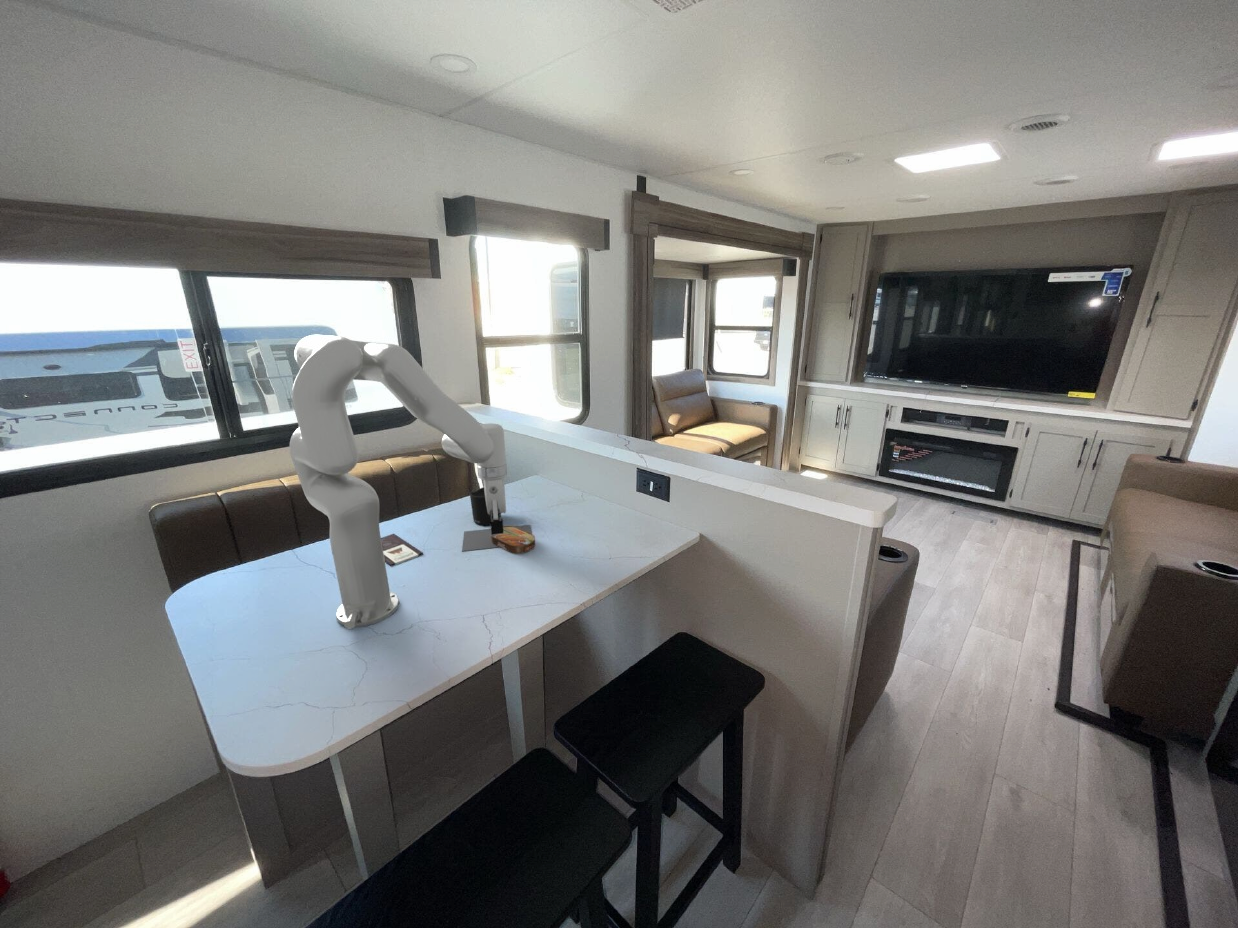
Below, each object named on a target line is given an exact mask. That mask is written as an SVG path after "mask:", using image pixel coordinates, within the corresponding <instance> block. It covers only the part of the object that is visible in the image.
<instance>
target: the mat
mask: <svg viewBox="0 0 1238 928" xmlns="http://www.w3.org/2000/svg"><path fill="white" fill-rule="evenodd" d="M513 526H514V527H517V528H519V529H521V530H523V531H526V532H528V533H530V534H533V532H532V526H531V524H525V525H524V524H523V525H513ZM490 533H491V528H485V529H475V530H465V531H463V537H462V538H463V539H462V549H461V552H469V551H471V552H472V551H477V550H478V551H479V550H488V549H489V550H490V549H499V548H500V547H499V546H497V545H495V544H493V543H492V541H491V535H490Z"/></svg>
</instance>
